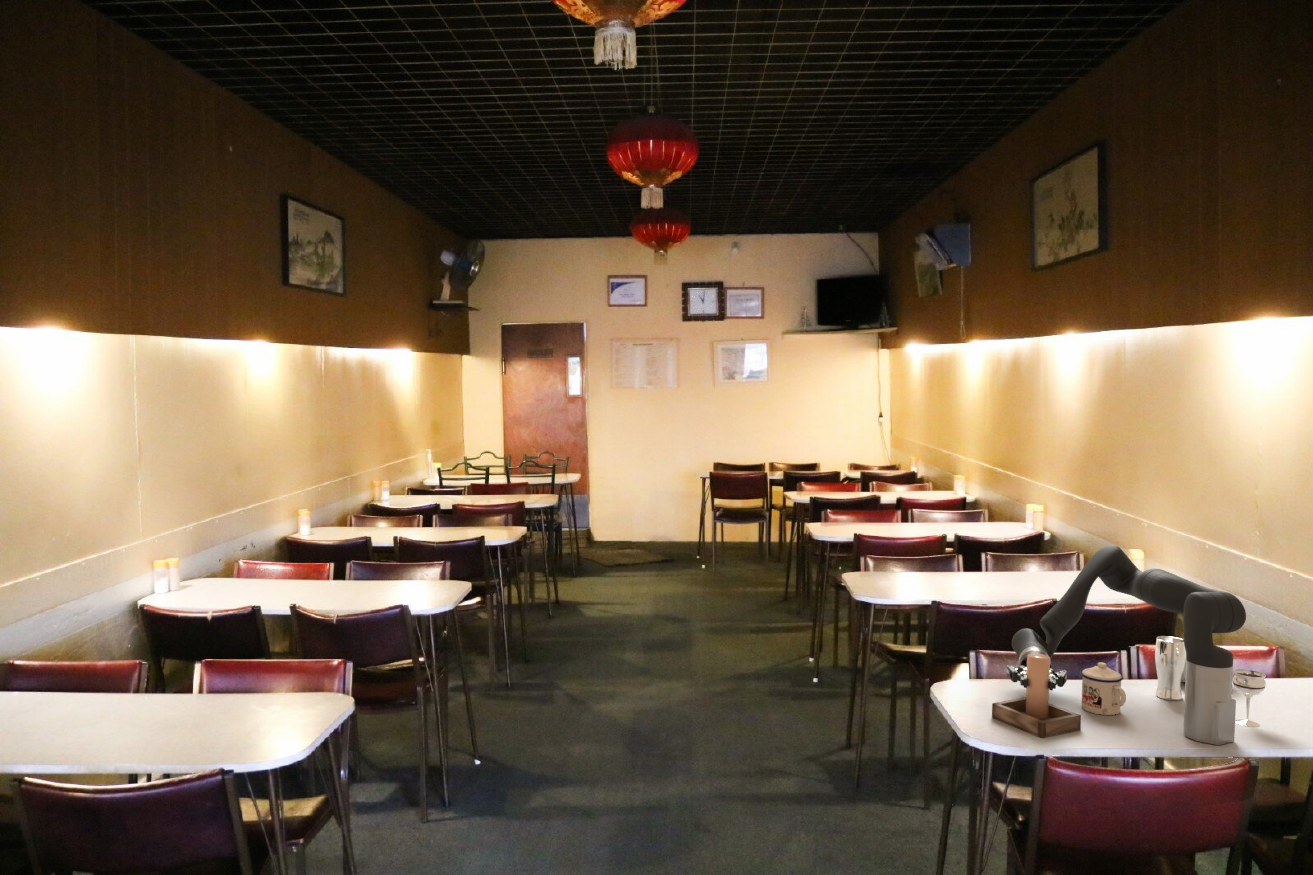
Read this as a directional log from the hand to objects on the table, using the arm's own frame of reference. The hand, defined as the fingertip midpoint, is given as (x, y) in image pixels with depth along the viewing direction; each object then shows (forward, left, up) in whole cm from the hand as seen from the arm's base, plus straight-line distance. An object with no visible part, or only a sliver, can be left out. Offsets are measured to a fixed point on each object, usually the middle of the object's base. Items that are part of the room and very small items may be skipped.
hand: (1038, 685), depth 224 cm
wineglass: (-19, -48, -10) cm, 53 cm away
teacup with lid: (+1, -24, -10) cm, 26 cm away
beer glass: (+2, -49, -10) cm, 50 cm away
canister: (+2, -2, -8) cm, 8 cm away
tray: (+2, -1, -10) cm, 10 cm away
